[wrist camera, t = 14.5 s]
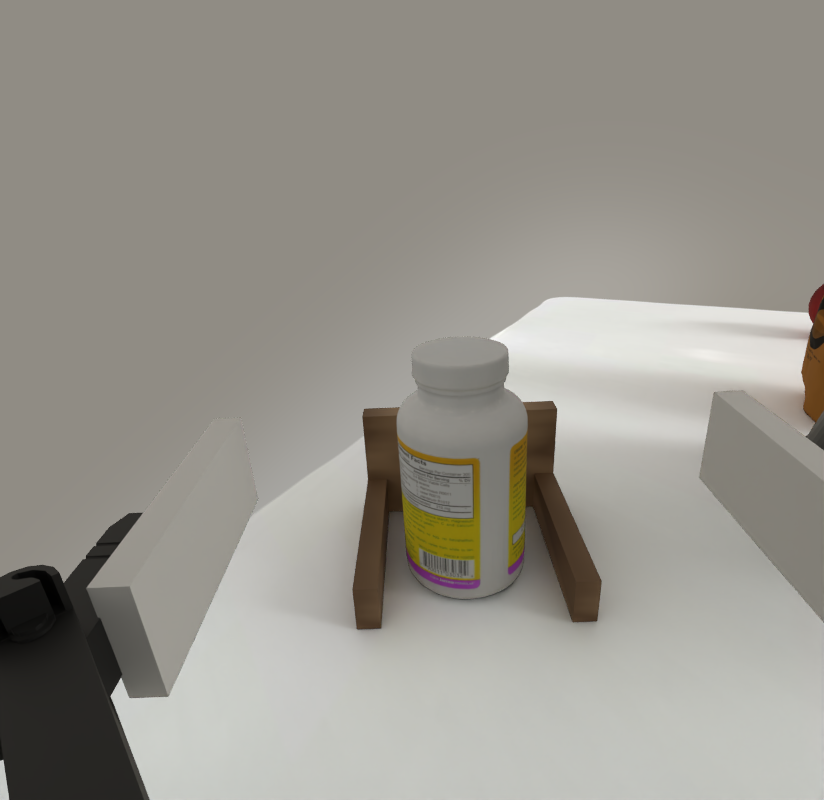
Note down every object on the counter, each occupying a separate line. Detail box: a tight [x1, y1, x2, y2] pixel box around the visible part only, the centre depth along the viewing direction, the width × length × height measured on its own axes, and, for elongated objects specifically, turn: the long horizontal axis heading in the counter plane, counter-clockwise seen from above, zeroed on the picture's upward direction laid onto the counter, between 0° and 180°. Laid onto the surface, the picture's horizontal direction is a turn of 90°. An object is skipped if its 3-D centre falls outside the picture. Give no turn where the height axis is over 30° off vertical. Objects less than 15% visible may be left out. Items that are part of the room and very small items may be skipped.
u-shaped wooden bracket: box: [353, 401, 602, 629], centre depth 31 cm, size 12×11×7 cm
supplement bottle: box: [397, 337, 528, 599], centre depth 29 cm, size 7×7×13 cm
